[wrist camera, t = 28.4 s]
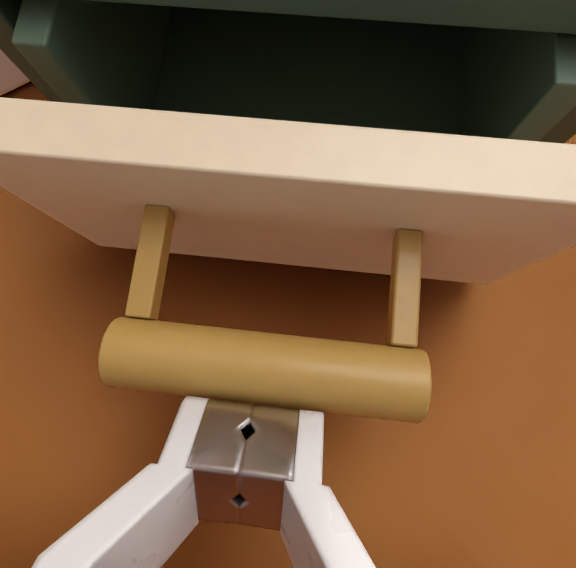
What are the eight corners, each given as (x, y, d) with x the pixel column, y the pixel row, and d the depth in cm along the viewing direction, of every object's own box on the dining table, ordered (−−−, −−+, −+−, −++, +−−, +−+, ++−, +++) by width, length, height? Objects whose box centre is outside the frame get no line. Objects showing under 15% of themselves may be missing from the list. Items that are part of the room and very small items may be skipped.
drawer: (486, 417, 13) (672, 467, 7) (72, 369, 14) (-138, 371, 7) (496, -69, 17) (624, -358, 10) (165, -89, 18) (81, -370, 11)
